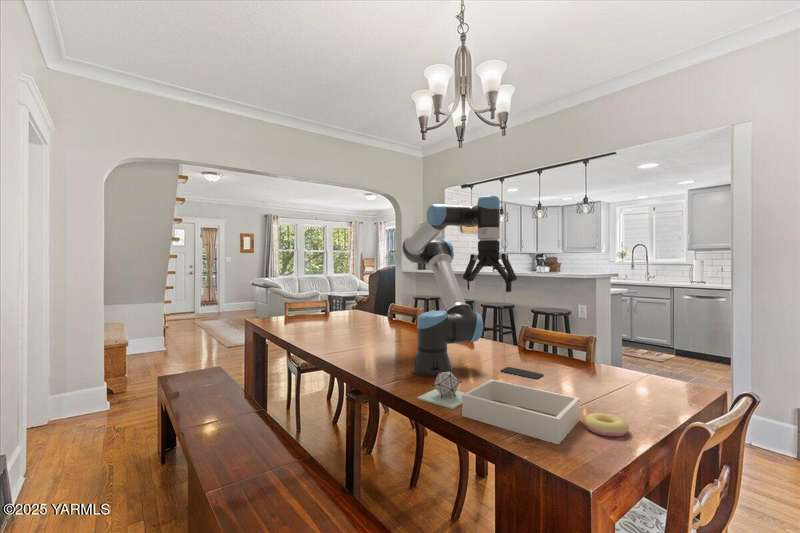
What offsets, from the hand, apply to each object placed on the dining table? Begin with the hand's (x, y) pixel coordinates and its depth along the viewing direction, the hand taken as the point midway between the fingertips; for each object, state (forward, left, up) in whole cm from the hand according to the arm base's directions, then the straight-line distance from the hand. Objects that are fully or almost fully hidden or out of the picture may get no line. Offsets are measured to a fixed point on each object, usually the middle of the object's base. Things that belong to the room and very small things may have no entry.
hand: (488, 300), depth 134 cm
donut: (+40, -15, -30) cm, 52 cm away
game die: (-3, -22, -29) cm, 37 cm away
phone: (+5, +19, -30) cm, 36 cm away
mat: (-3, -22, -29) cm, 37 cm away
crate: (+21, -22, -29) cm, 42 cm away
